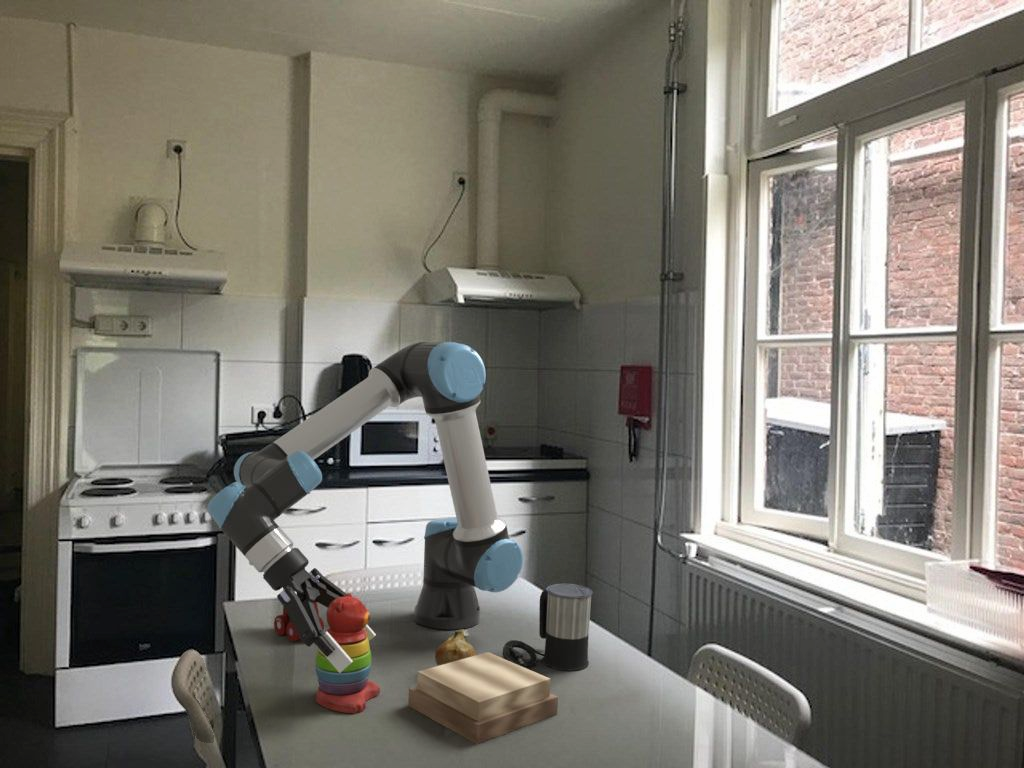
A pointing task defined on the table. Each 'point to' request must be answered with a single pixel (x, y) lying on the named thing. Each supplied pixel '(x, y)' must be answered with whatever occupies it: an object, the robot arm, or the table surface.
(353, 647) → the stacking bear
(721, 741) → the table surface
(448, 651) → the onion
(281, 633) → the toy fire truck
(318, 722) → the table surface
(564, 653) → the milk frother
